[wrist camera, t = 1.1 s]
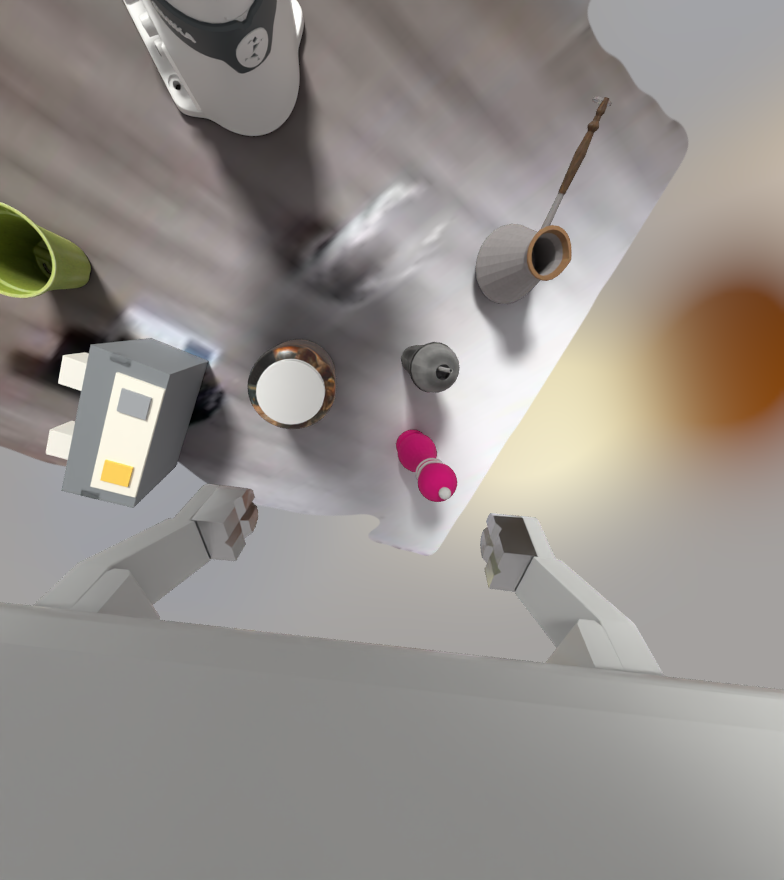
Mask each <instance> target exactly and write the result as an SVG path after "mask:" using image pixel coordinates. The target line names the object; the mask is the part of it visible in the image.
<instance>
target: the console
mask: <svg viewBox="0 0 784 880" xmlns="http://www.w3.org/2000/svg"><path fill="white" fill-rule="evenodd" d="M207 363H208V361H207V360H204V359H202V358H200V357H197V356H195V355H192V354H190V353H187V352H185V351H182V350H180V349H177V348H175V347H172V346H170V345H167V344H165V343H162V342H160V341H157V340H155V339H152V338H148V339H139V340H129V341H120V342H110V343H101V344H91V345H90V350H89V355H88V360H87V365H86V370H85V375H84V380H83V385H82V390H81V395H80V401H79V406H78V411H77V416H76V421H75V426H74V431H73V436H72V441H71V446H70V451H69V456H68V461H67V466H66V471H65V476H64V481H63V486H62V491H64V492H68V493H73V494H77V495H81V496H86V497H89V498H94V499H98V500H102V501H106V502H111V503H115V504H119V505H123V506H127V507H132V508H133V507H135V506H136V505H137V504H138V503H139V502H140V501H141V500H142V499H143V498H144V497H145V496H146V495H147V494H148V493H149V492H150V491H151V490H152V489H153V488H154V487H155V486H156V485H157V484H158V483H159V482H160V481H161V480H162V479H163V478H164V477H166V475H167V474H168V473H170V472H171V471H172V470H173V469H174V468H175V467H176V465H177V461H178V458H179V455H180V452H181V448H182V445H183V442H184V439H185V435H186V432H187V429H188V426H189V422H190V419H191V416H192V412H193V409H194V406H195V403H196V399H197V396H198V393H199V390H200V386H201V383H202V380H203V377H204V373H205V370H206V367H207Z"/></svg>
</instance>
